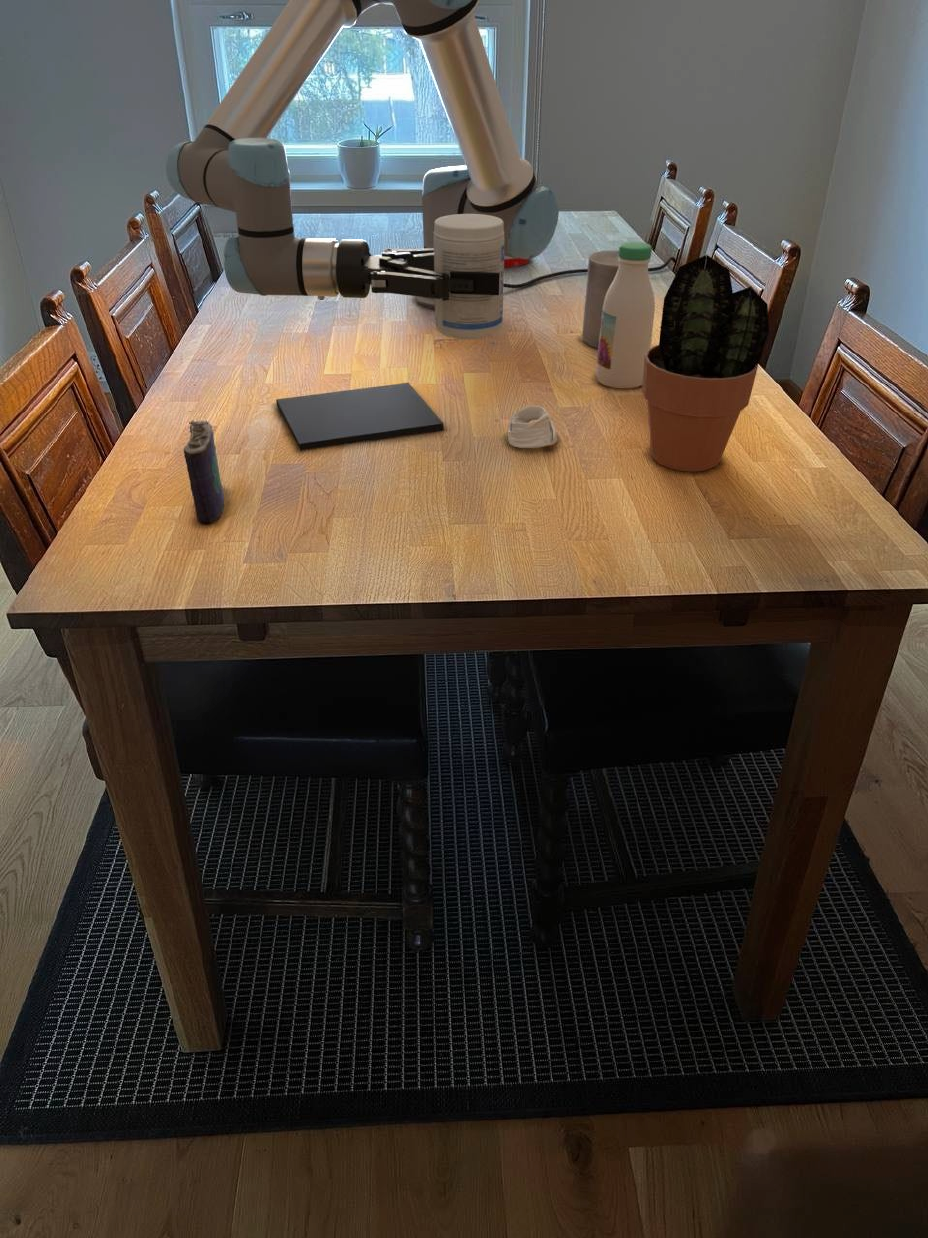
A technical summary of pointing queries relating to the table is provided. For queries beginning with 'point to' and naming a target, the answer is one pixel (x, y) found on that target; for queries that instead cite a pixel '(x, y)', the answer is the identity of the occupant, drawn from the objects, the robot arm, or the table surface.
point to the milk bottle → (627, 320)
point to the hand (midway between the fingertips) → (501, 273)
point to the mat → (357, 416)
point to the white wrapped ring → (531, 428)
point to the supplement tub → (469, 250)
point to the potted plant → (702, 365)
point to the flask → (204, 473)
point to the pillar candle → (597, 292)
